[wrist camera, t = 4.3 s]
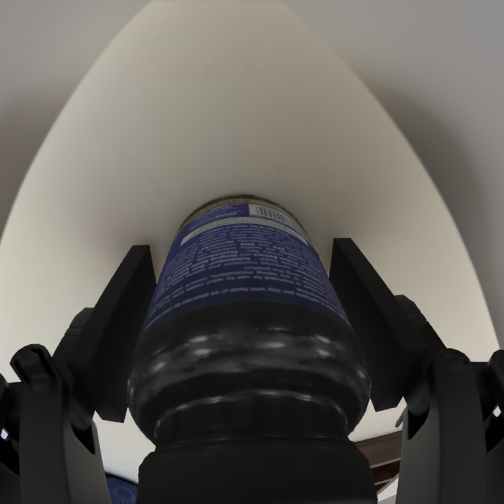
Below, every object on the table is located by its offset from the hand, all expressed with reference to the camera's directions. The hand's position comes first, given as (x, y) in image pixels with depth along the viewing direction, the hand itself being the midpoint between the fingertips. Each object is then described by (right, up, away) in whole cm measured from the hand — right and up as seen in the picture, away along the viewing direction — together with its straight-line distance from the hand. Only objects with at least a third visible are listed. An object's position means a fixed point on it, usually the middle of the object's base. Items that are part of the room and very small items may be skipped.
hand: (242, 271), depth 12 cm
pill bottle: (0, +1, +1) cm, 1 cm away
